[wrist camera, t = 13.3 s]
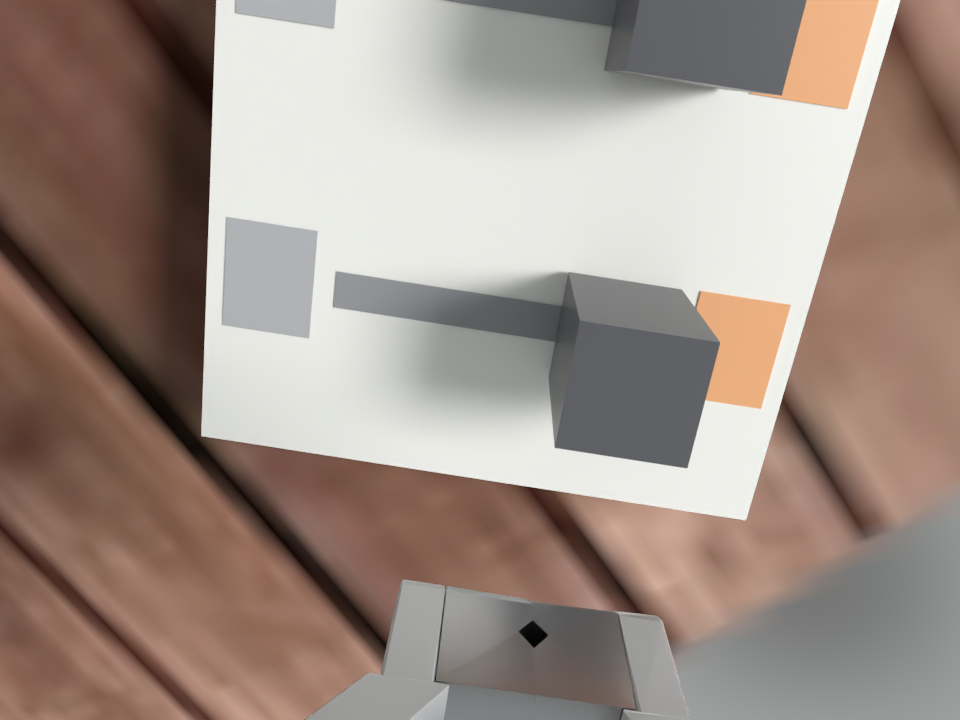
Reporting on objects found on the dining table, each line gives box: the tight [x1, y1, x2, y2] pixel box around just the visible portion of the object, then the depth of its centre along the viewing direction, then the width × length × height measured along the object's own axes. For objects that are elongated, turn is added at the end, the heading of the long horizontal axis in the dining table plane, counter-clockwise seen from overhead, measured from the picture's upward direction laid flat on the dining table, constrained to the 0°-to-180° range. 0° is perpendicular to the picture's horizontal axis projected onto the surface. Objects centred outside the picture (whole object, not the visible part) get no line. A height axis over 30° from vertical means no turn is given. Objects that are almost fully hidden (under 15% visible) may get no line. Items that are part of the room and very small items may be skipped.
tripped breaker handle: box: [549, 272, 720, 468], centre depth 20 cm, size 3×3×4 cm
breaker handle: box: [604, 0, 807, 96], centre depth 17 cm, size 3×3×4 cm
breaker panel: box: [201, 0, 900, 520], centre depth 22 cm, size 16×18×3 cm
